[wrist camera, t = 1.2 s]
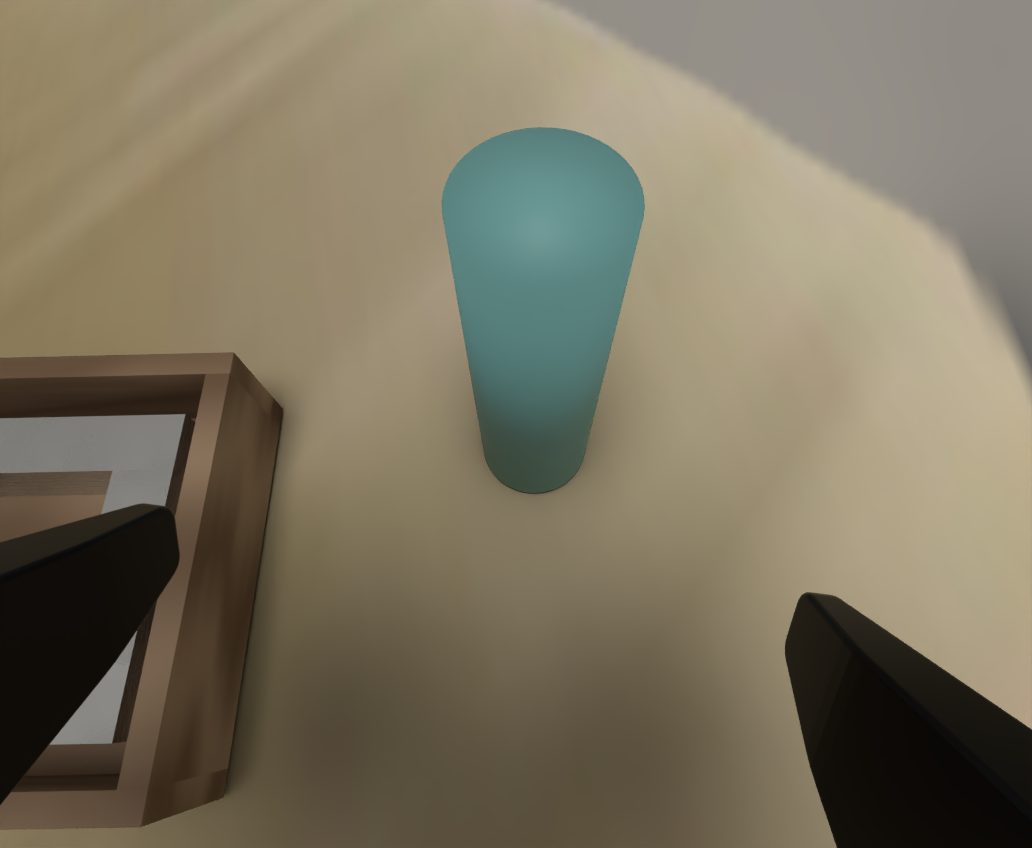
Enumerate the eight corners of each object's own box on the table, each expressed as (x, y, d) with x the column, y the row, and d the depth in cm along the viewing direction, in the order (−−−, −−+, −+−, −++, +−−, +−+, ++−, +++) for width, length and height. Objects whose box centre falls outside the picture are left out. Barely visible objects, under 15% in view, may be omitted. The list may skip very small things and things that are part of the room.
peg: (588, 491, 23) (655, 280, 11) (483, 494, 23) (437, 285, 11) (581, 398, 25) (634, 125, 13) (483, 400, 25) (444, 129, 13)
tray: (223, 797, 19) (140, 827, 15) (-203, 805, 19) (-402, 837, 15) (282, 408, 25) (233, 352, 20) (-49, 416, 25) (-165, 361, 21)
